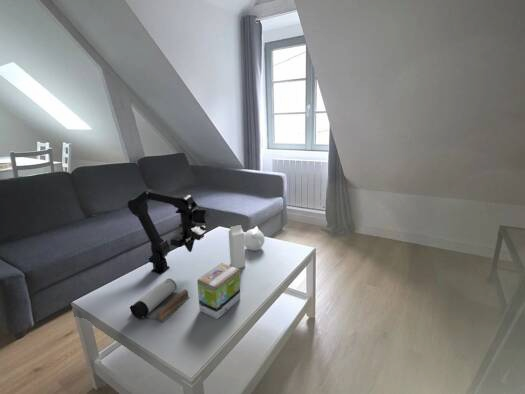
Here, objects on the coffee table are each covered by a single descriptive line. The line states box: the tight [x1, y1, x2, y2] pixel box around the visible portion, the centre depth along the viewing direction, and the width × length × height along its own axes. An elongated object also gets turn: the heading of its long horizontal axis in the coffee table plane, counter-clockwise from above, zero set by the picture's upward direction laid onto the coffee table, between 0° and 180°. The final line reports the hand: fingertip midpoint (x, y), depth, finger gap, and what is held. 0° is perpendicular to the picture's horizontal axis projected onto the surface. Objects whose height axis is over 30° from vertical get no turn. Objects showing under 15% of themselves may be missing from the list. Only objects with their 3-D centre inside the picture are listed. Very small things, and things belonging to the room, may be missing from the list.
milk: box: [228, 224, 246, 269], centre depth 143 cm, size 6×6×22 cm
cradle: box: [132, 283, 191, 323], centre depth 117 cm, size 16×16×3 cm
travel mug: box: [129, 278, 178, 320], centre depth 116 cm, size 6×7×20 cm
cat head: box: [244, 226, 265, 252], centre depth 161 cm, size 15×13×12 cm
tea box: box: [196, 262, 241, 320], centre depth 115 cm, size 15×10×15 cm
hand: (190, 251), depth 137 cm, fingers closed
